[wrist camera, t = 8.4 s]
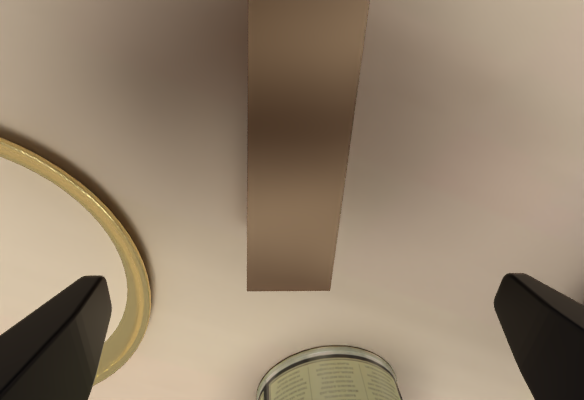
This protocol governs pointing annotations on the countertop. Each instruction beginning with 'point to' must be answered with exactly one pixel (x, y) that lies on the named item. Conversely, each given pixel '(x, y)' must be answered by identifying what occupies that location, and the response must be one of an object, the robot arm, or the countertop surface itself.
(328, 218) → the brown wooden bar
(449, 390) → the countertop surface
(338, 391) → the coffee can
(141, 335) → the serving platter
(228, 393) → the countertop surface
